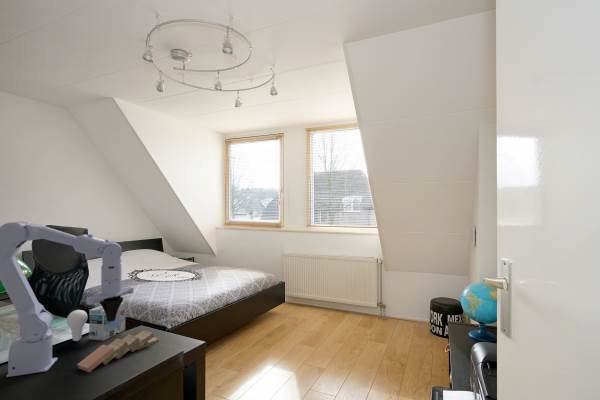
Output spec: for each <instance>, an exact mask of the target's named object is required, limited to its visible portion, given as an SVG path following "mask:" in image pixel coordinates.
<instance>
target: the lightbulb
mask: <svg viewBox="0 0 600 400" xmlns="http://www.w3.org/2000/svg"><path fill="white" fill-rule="evenodd" d="M86 322H88V314H87V312H86V311H85V310H82V309H76V310H73V311H71V312H70V313H69V314H68V315H67V318H66V324H67V326H68V327H69V328H70V331H71V335H72V341H74V342H79V341H80V340H81V339H82V335H83V330H84V327H85V324H86Z"/></svg>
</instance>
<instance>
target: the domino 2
mask: <svg viewBox="0 0 600 400" xmlns="http://www.w3.org/2000/svg"><path fill="white" fill-rule="evenodd" d="M107 346H110V347H113V349H114V351H115V352H113V353H112V354H111V355H110V356H109V357H107V358H106V359H105V360H104V361H103V362H101V363H100V364H101V365H104V366H106V365H107V364H108V363H109V362H111V361H112V360H113V359H115V358H114V357H115V356H116V355H117V354H119V353H120V352H121V351H122V350H123V349H124V348H125V347H127V346H128V343H127V341H124V340H122V339H119V338H115V339H114V340H113V341H112V342H111V343H109V344H108V345H107Z"/></svg>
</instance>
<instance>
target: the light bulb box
mask: <svg viewBox="0 0 600 400" xmlns="http://www.w3.org/2000/svg"><path fill="white" fill-rule="evenodd" d="M88 319H89V321H88V323H89V327H88V328H89V329H88V339H89V340H95V341H106V340H108V339H110V338H112V337H113V336H116V335H117V334H116V333H118V334H119V333H122V332H124V331H126V302H122V303H121V305H120V306H119V309H118V311H117V314H116V318H115V320H114V321H107V317H106V314H105V311H104V309H103V307H102V306H101V305H99V306H96V307H93V308H92V309H91V308H90V309H89V318H88Z"/></svg>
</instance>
